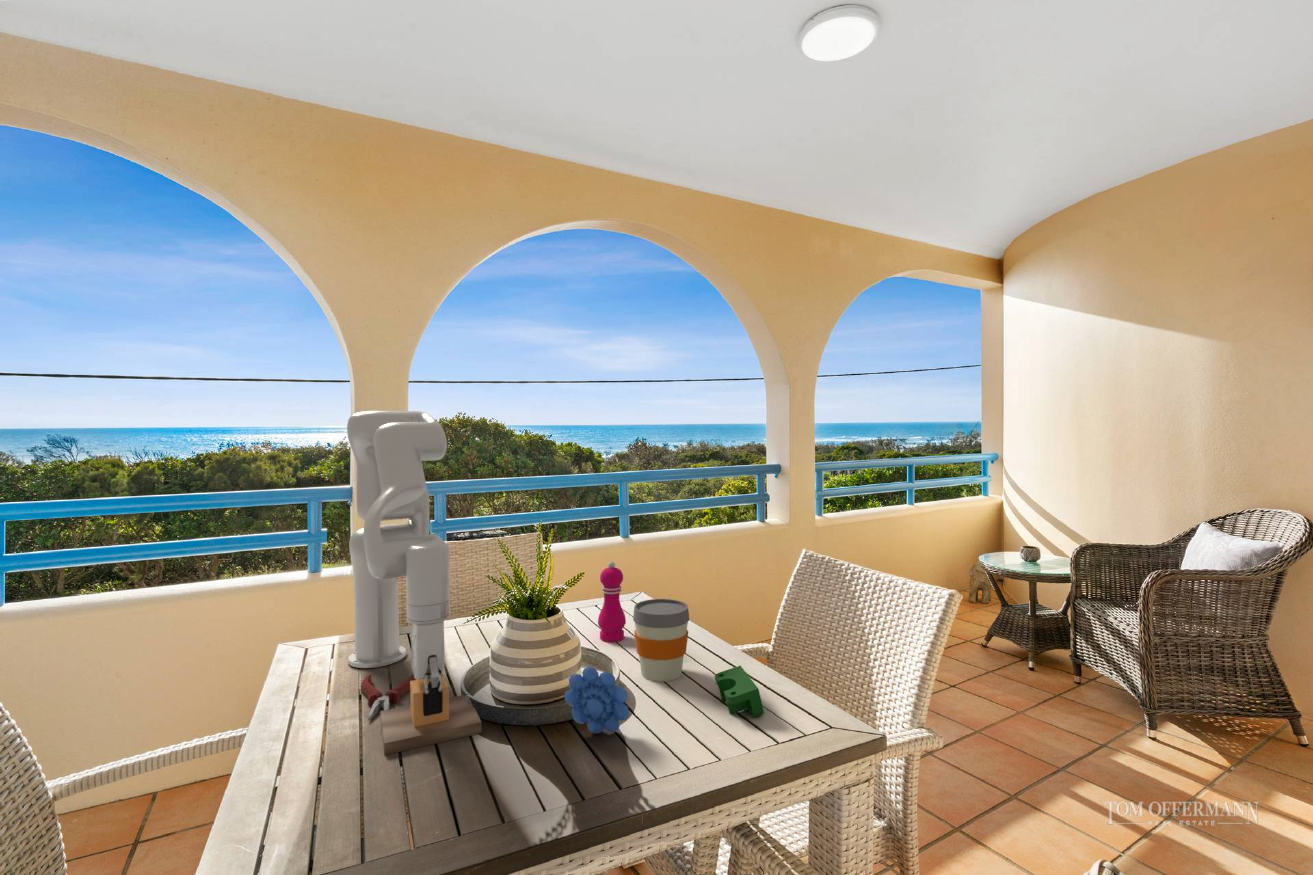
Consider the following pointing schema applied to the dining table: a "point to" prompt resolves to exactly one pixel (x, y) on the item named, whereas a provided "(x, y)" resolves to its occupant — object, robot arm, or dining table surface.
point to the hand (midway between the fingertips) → (429, 702)
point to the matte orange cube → (417, 703)
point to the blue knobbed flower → (597, 700)
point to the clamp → (739, 691)
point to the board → (427, 727)
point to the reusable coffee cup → (661, 637)
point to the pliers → (377, 697)
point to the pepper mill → (611, 605)
